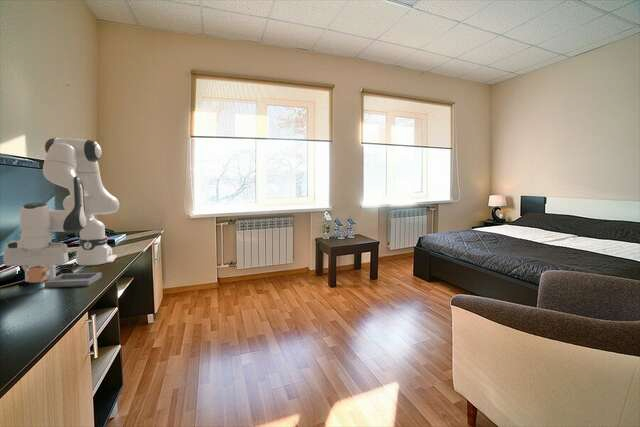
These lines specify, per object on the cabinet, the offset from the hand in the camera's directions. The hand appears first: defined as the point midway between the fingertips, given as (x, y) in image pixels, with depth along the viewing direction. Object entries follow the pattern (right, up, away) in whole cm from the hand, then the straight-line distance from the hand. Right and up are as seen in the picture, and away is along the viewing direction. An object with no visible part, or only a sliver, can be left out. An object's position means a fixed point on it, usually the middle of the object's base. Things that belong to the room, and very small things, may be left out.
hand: (38, 275), depth 117 cm
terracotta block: (0, -2, 0) cm, 2 cm away
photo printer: (-12, -5, +14) cm, 19 cm away
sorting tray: (+5, -6, +12) cm, 14 cm away
